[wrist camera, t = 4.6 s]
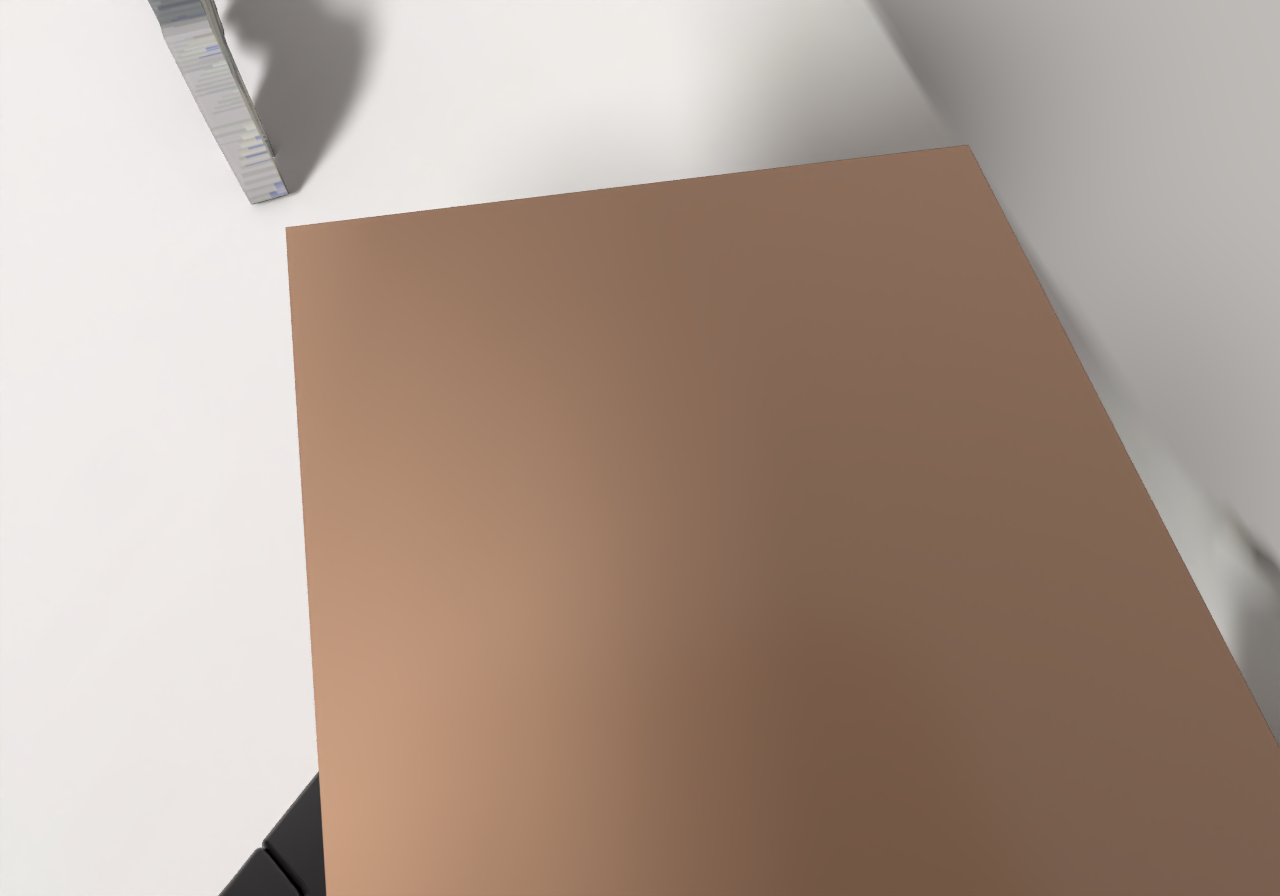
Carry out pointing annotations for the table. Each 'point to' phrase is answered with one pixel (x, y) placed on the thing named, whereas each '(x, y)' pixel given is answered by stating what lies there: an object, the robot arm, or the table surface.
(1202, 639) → the clay block
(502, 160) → the table surface
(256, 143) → the caliper
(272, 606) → the table surface
